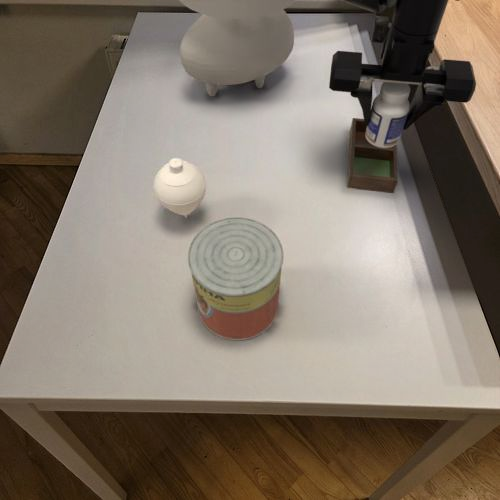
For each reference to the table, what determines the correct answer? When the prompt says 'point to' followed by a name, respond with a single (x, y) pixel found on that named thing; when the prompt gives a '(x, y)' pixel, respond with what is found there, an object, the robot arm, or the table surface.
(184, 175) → the spinning top
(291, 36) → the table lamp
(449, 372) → the table surface
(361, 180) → the holder
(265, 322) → the canned food
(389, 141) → the pill bottle
